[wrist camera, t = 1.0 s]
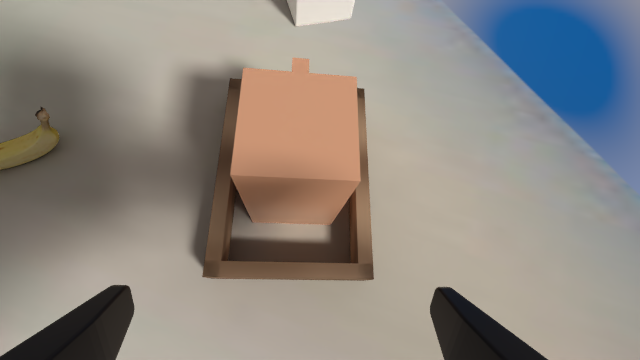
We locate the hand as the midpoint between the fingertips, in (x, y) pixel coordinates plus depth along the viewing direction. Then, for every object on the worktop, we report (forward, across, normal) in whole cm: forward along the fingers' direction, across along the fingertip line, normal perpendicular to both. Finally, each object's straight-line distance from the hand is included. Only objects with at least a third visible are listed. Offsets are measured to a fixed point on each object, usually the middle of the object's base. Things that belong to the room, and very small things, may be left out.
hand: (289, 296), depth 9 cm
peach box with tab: (+16, 0, +3) cm, 16 cm away
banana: (+16, +20, +3) cm, 26 cm away
